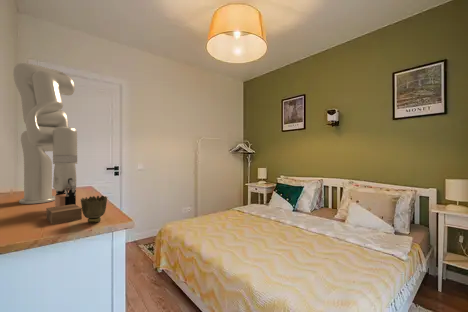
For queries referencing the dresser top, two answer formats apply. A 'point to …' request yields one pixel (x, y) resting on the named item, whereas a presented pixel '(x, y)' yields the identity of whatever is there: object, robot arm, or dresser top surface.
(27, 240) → the dresser top surface
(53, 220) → the walnut block
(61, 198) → the terracotta block
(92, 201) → the cup
